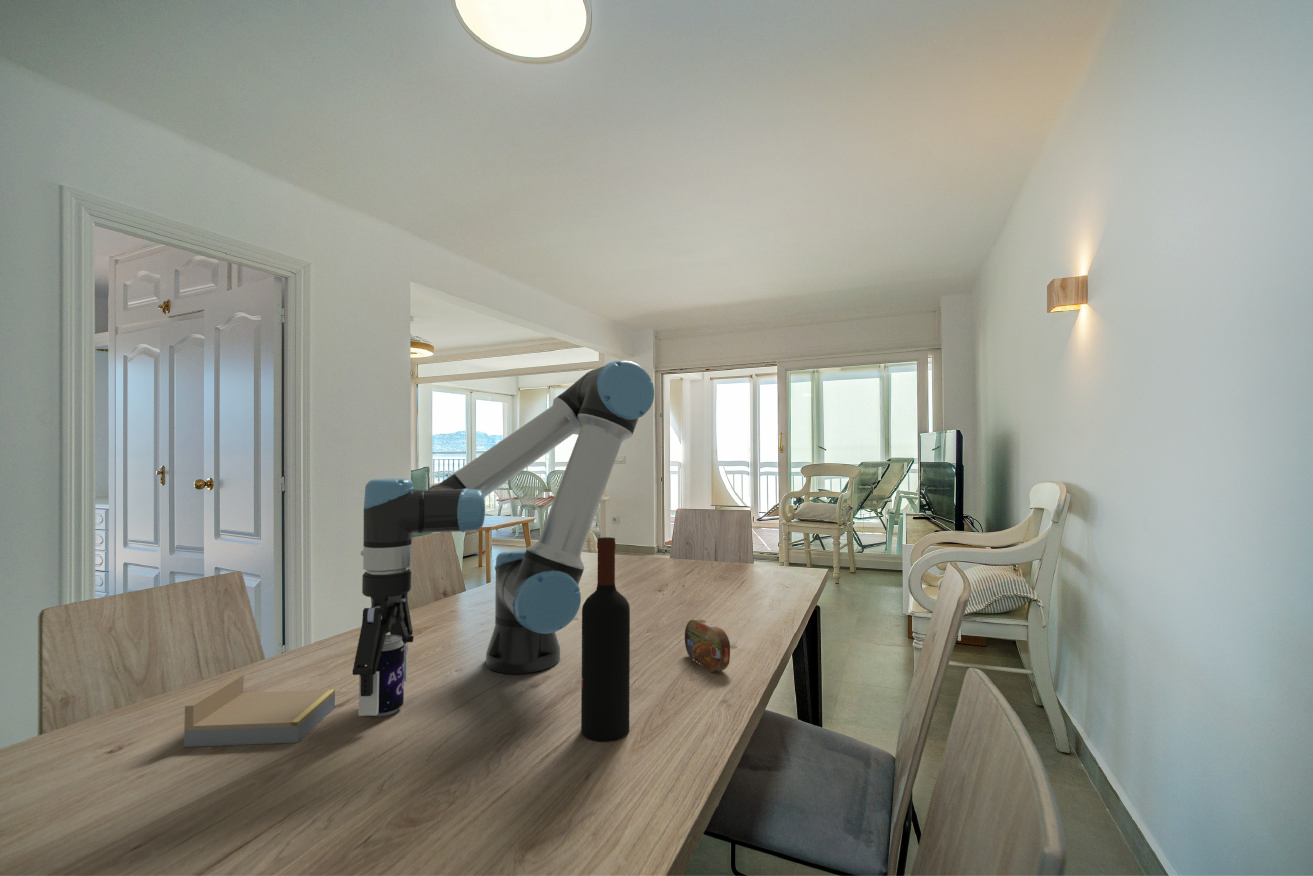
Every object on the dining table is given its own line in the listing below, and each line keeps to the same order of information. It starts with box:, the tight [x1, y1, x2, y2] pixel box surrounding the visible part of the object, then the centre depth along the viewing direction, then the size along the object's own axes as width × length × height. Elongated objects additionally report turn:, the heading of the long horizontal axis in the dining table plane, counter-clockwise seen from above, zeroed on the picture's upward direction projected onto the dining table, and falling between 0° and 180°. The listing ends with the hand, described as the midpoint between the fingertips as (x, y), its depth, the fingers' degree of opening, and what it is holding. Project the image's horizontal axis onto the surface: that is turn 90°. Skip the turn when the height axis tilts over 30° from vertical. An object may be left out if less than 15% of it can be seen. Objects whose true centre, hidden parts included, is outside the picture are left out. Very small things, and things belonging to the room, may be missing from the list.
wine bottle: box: [580, 536, 631, 743], centre depth 92 cm, size 8×8×30 cm
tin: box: [684, 619, 731, 673], centre depth 120 cm, size 15×3×8 cm, turn 25°
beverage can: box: [372, 634, 405, 717], centre depth 98 cm, size 6×6×12 cm
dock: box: [183, 674, 336, 748], centre depth 93 cm, size 16×12×6 cm
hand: (384, 696), depth 98 cm, fingers open, 13 cm apart
